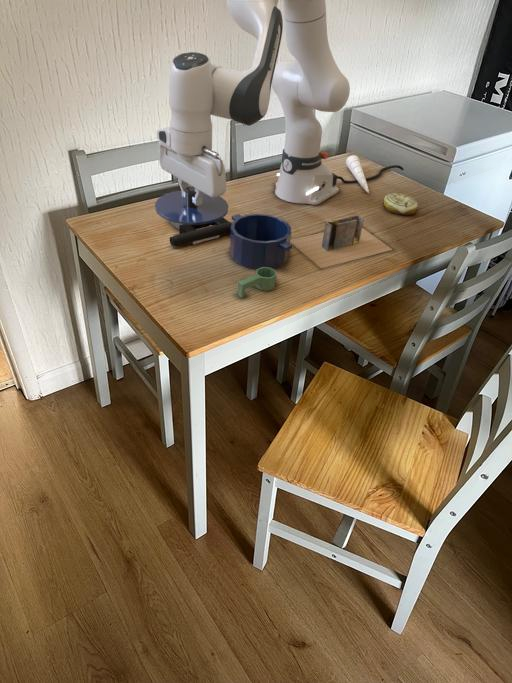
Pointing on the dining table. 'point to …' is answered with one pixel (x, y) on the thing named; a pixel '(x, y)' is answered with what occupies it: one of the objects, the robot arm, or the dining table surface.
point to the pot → (259, 241)
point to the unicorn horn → (357, 171)
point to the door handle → (199, 232)
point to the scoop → (258, 281)
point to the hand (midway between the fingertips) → (191, 200)
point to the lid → (190, 208)
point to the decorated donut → (400, 204)
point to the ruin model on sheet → (340, 242)
